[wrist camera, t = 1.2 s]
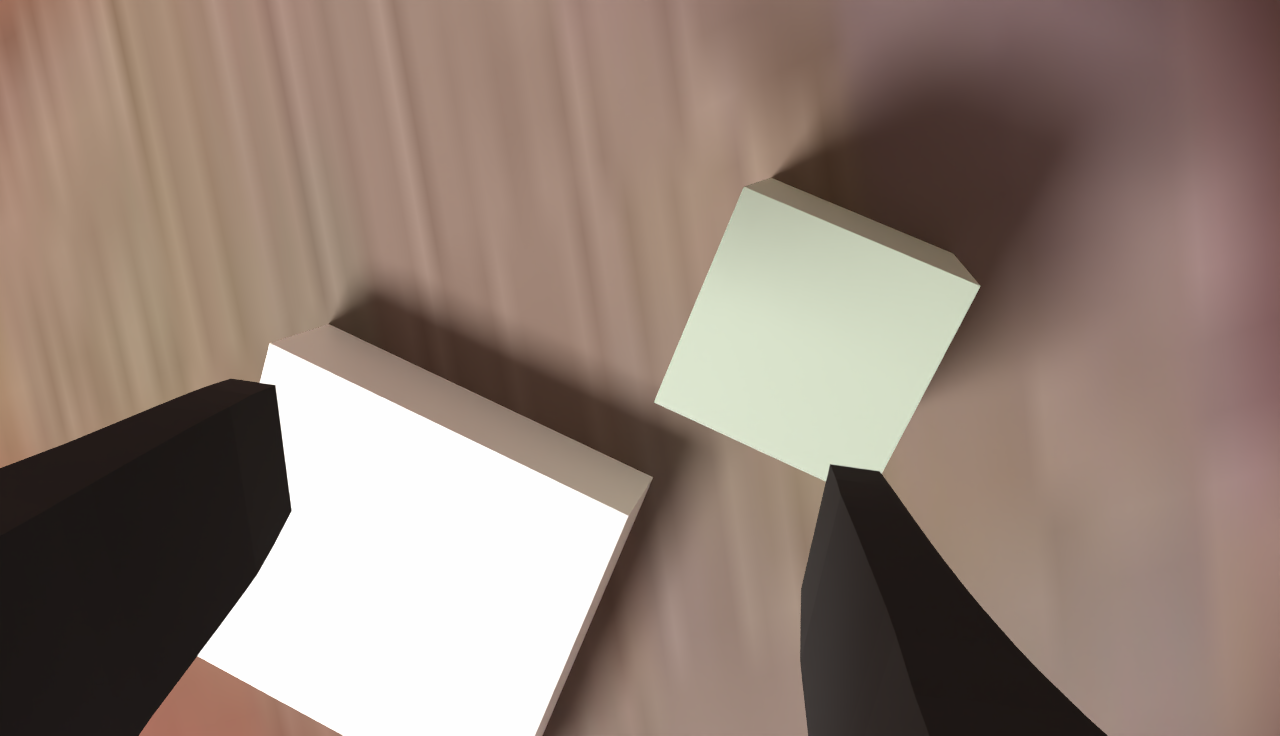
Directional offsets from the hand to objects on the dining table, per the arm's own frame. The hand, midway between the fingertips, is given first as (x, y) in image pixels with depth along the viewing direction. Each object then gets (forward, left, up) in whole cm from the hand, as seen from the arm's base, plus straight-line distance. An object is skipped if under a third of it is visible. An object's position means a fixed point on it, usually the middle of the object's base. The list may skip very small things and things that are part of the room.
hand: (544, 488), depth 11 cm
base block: (+4, +9, -12) cm, 15 cm away
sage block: (-3, -2, -11) cm, 12 cm away
